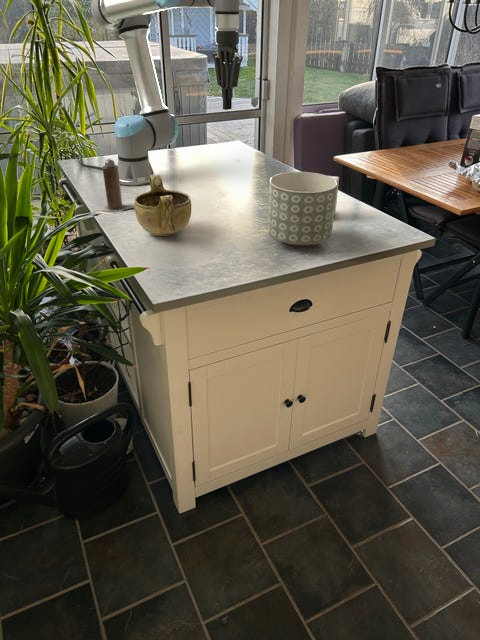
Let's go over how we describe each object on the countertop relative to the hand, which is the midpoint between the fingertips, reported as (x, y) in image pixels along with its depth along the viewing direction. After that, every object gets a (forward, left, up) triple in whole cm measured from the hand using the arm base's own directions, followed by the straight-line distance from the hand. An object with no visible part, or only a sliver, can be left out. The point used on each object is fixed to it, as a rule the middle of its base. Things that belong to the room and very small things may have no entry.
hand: (227, 109), depth 173 cm
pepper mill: (-13, -40, -29) cm, 51 cm away
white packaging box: (+39, +9, -30) cm, 50 cm away
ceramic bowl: (+16, -40, -30) cm, 52 cm away
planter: (+48, -13, -30) cm, 58 cm away
